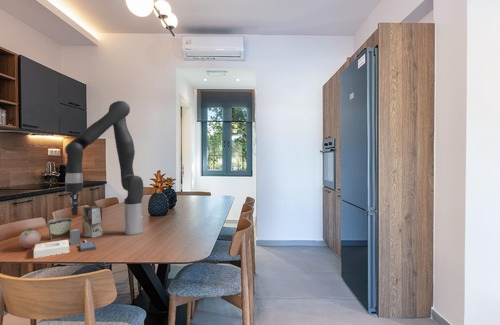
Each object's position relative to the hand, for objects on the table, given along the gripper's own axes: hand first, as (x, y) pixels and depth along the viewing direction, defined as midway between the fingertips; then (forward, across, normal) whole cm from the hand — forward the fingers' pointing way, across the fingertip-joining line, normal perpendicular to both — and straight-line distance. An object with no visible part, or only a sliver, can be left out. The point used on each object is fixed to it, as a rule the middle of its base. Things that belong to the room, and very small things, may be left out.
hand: (74, 214), depth 144 cm
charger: (+15, 0, 0) cm, 15 cm away
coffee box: (+15, +13, -9) cm, 22 cm away
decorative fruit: (+15, +4, +18) cm, 24 cm away
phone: (+15, -7, -5) cm, 17 cm away
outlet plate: (+15, -8, +9) cm, 19 cm away
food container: (+15, +20, +7) cm, 26 cm away
